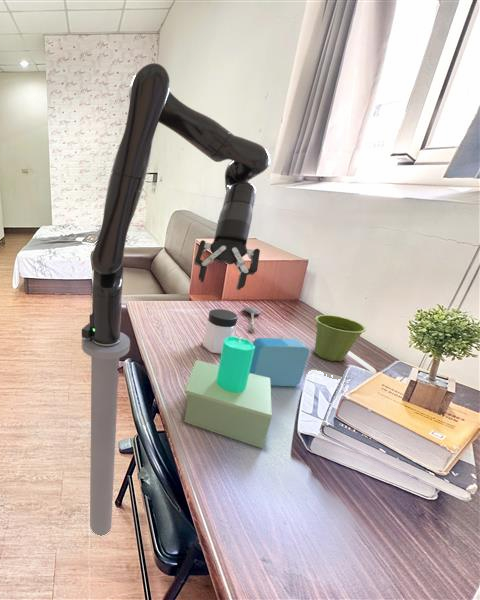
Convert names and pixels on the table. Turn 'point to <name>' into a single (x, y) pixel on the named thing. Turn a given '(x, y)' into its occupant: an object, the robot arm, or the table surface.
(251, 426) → the chest
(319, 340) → the plant pot
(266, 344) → the data package
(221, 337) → the jar
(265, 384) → the chest lid
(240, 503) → the table surface
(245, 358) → the candle
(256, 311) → the soupspoon
